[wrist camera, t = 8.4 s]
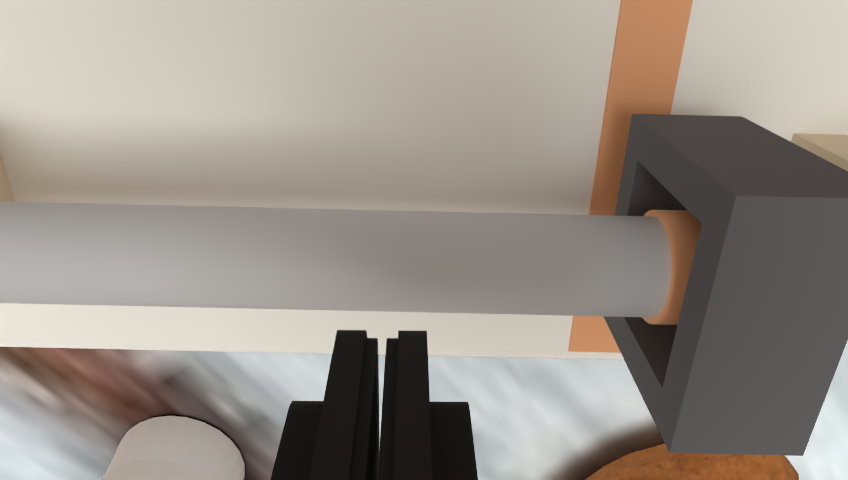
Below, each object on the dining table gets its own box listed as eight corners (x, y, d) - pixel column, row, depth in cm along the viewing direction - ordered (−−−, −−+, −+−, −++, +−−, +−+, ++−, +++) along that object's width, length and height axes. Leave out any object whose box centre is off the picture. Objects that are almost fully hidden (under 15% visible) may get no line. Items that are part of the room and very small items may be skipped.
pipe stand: (-118, -52, 21) (-468, -55, 13) (903, -26, 21) (1204, -13, 13) (6, 331, 28) (-171, 489, 20) (779, 347, 28) (925, 512, 20)
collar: (632, 113, 20) (736, 195, 13) (741, 116, 20) (901, 199, 13) (599, 307, 23) (669, 453, 16) (693, 309, 23) (802, 455, 16)
